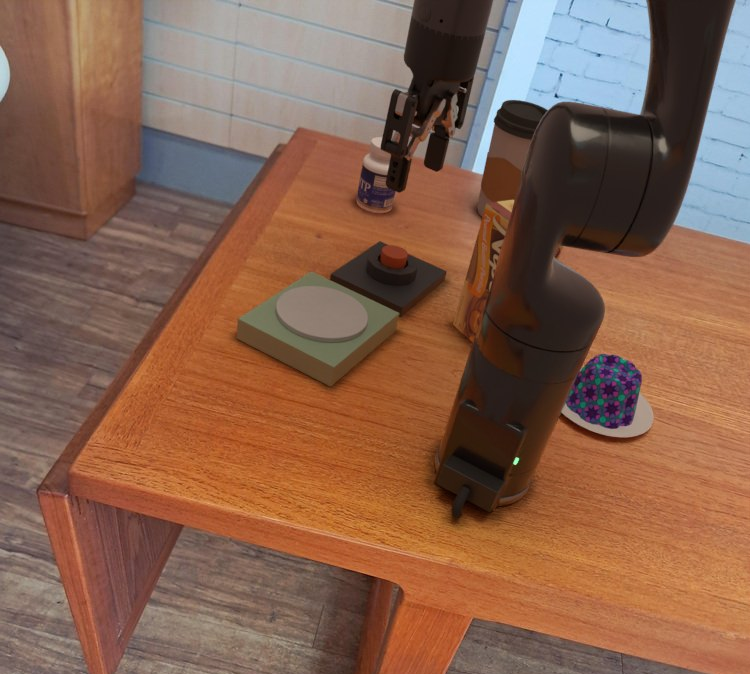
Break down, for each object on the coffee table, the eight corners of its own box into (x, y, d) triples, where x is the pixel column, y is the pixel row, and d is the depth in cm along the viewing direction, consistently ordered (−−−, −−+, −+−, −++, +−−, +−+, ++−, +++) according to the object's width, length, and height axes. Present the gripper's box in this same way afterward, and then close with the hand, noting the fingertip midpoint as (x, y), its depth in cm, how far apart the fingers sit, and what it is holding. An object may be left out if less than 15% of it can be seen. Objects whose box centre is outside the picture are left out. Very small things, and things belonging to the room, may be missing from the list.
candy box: (523, 360, 90) (569, 237, 80) (495, 368, 88) (540, 242, 78) (476, 319, 95) (514, 197, 84) (449, 325, 93) (485, 201, 82)
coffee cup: (531, 217, 119) (566, 114, 108) (509, 234, 113) (543, 128, 103) (484, 196, 121) (513, 94, 110) (459, 212, 115) (488, 105, 105)
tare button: (397, 273, 94) (400, 261, 93) (374, 262, 95) (377, 251, 94) (409, 263, 96) (412, 252, 95) (387, 253, 97) (390, 242, 96)
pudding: (558, 360, 92) (574, 322, 88) (657, 398, 90) (677, 361, 86) (534, 415, 83) (551, 375, 80) (643, 457, 81) (665, 419, 78)
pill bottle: (351, 196, 112) (361, 133, 106) (385, 197, 114) (397, 135, 108) (361, 214, 109) (373, 150, 103) (396, 215, 111) (410, 152, 105)
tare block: (400, 317, 92) (405, 295, 90) (329, 284, 94) (332, 261, 92) (444, 281, 100) (450, 259, 98) (377, 250, 102) (382, 229, 100)
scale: (330, 387, 80) (335, 362, 78) (236, 338, 83) (238, 313, 81) (395, 331, 90) (400, 308, 88) (308, 289, 93) (311, 266, 90)
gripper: (448, 43, 71) (410, 211, 83) (513, 20, 81) (471, 174, 92) (379, 16, 73) (352, 183, 85) (450, -3, 82) (417, 150, 94)
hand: (414, 178), depth 88 cm, fingers open, 8 cm apart
